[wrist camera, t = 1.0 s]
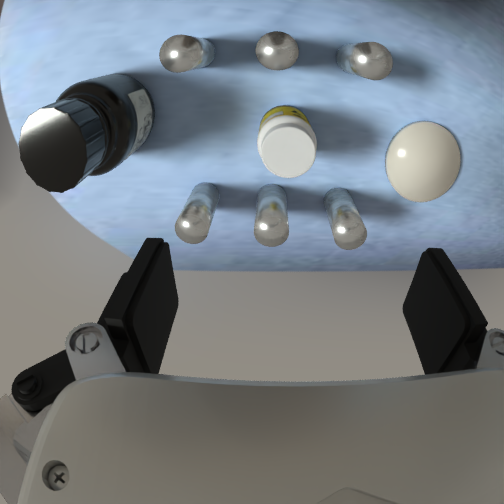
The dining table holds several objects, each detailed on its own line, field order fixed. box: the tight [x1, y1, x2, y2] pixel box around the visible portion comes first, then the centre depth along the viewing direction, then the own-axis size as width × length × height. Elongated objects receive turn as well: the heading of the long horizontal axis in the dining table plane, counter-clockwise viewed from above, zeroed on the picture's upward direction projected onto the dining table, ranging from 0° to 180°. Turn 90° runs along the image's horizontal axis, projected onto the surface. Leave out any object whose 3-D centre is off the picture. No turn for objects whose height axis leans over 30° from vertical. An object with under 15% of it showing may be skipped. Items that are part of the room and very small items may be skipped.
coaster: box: [385, 121, 460, 202], centre depth 29 cm, size 9×9×1 cm
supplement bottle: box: [257, 105, 317, 178], centre depth 26 cm, size 5×5×8 cm
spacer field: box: [159, 31, 393, 250], centre depth 26 cm, size 17×18×7 cm
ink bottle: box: [19, 74, 155, 193], centre depth 24 cm, size 10×9×12 cm
